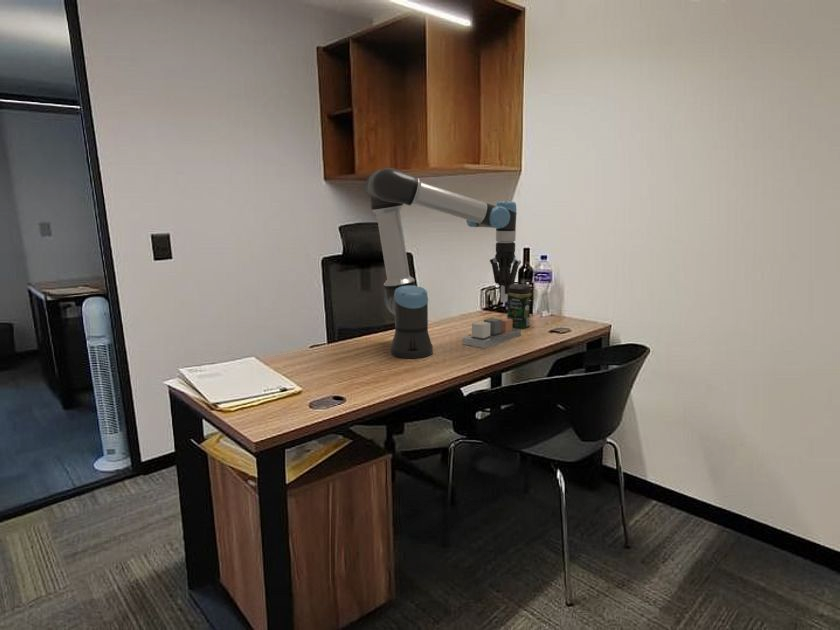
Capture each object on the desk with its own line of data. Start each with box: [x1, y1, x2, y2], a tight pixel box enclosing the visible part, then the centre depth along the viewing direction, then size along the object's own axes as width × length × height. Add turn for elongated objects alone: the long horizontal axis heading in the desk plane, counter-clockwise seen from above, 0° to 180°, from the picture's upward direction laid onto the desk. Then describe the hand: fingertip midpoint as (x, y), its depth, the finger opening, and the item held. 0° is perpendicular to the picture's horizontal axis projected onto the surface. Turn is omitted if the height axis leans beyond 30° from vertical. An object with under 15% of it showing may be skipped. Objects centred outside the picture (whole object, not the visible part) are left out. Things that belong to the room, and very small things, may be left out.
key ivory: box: [471, 320, 490, 338], centre depth 196 cm, size 5×5×5 cm
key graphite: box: [483, 317, 502, 334], centre depth 201 cm, size 5×5×5 cm
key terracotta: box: [498, 317, 513, 332], centre depth 208 cm, size 5×5×5 cm
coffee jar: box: [506, 283, 532, 329], centre depth 222 cm, size 10×8×19 cm
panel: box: [462, 327, 522, 349], centre depth 202 cm, size 26×10×2 cm, turn 139°
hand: (503, 301), depth 206 cm, fingers closed
